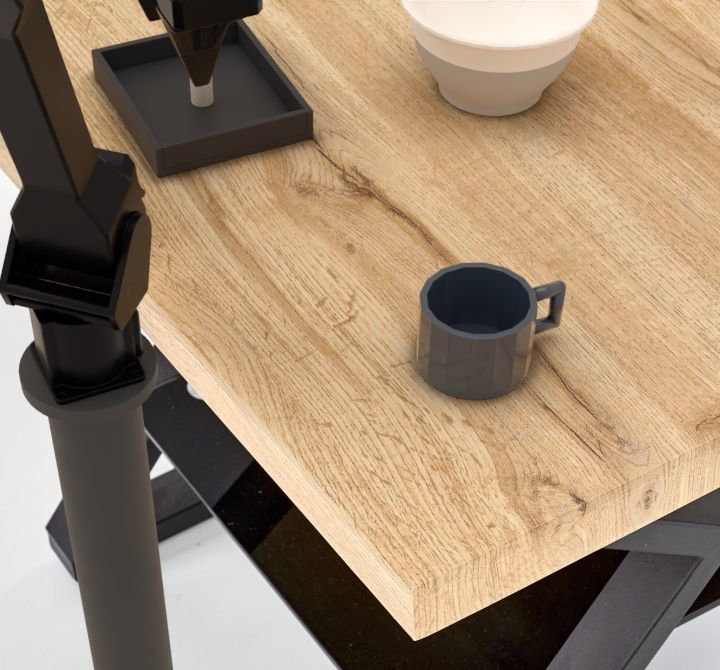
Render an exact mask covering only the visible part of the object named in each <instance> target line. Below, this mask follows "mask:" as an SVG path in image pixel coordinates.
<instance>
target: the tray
mask: <svg viewBox="0 0 720 670" xmlns="http://www.w3.org/2000/svg"><path fill="white" fill-rule="evenodd" d="M90 52H91V61H92V69H93V76H94V79H95V80H96V82H97V83H98V85H99V87H100V88H101V90H102V91H103V93H104V95H105V97H106V98H107V99H108V101H109V102H110V104H111V106H112V107H113V108H114V110H115V112H116V113H117V116H118V117H119V118H120V120H121V121H122V123H123V125H124V126H125V128H126V129H127V131H128V132H129V134H130V135H131V137H132V139H133V141H134V143H136V145H137V147H138V149H139V151H141V153H142V154H143V156H144V158H145V160H146V161H147V163H148V164H149V165H150V167H151V170H152V171H153V172H154V174H155V175H156V177H157V178H158V179H159V178H163V177H168V176H171V175H175V174H179V173H183V172H187V171H191V170H194V169H198V168H202V167H206V166H209V165H210V166H211V165H213V164H218V163H221V162H225V161H229V160H233V159H238V158H241V157H245V156H249V155H253V154H257V153H261V152H265V151H269V150H272V149H276V148H280V147H284V146H288V145H292V144H297V143H300V142H304V141H307V140H311V139H314V109H312V107H311V106H310V105H309V103H308V101H306V99H305V98H304V97H303V95H302V94H301V93H300V91H299V90H298V89H297V88H296V86H295V85H294V83H293V82H292V81H291V80H290V78H289V77H288V76H287V75H286V73H285V72H284V71H283V70H282V68H281V67H280V65H279V64H278V63H277V62H276V60H275V59H274V58H273V56H272V55H271V54H270V53H269V51H268V50H267V49H266V47H265V46H264V45H263V44H262V43H261V41H260V40H259V38H258V37H257V36H256V34H255V33H254V32H253V30H252V29H251V28H250V27H249V25H248V24H247V22H246V21H245V20H244V19H240V20H235V21H233V22H232V23H231V24H230V25H229V26H228V28H227V30H226V33H225V35H224V38H223V40H222V44H221V47H220V50H219V54H218V57H217V60H216V64H215V67H214V70H213V74H212V83H213V103H212V104H211V105H209V106H207V107H197V106H195V105H193V104H192V102H191V89H190V77H189V75H188V73H187V71H186V69H185V67H184V65H183V63H182V61H181V59H180V57H179V55H178V53H177V51H176V49H175V46H174V44H173V42H172V40H171V38H170V36H169V34H168V32H164V33H159V34H154V35H150V36H145V37H141V38H138V39H134V40H129V41H124V42H120V43H116V44H111V45H106V46H102V47H98V48H94V49H93V48H92V49H91V50H90Z"/></svg>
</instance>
